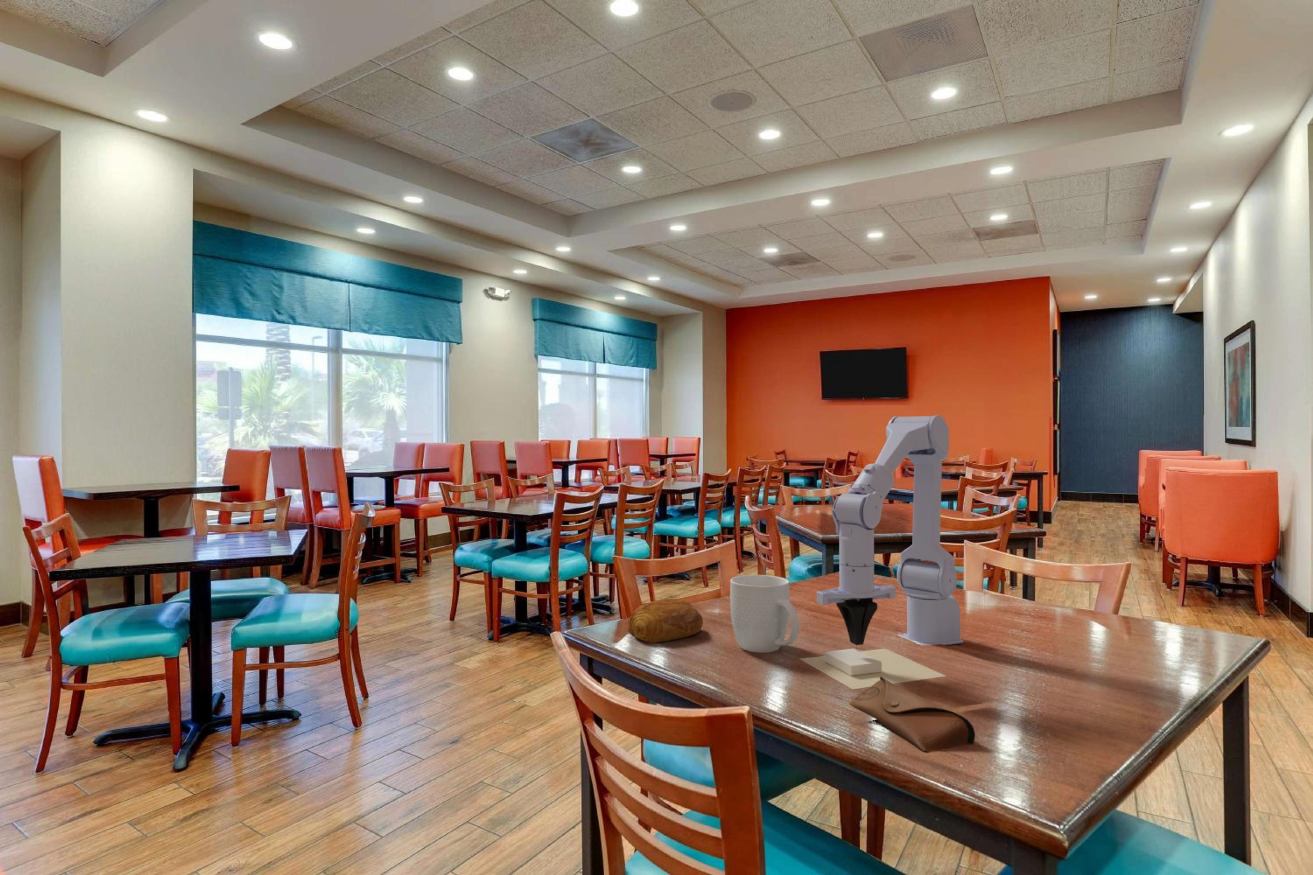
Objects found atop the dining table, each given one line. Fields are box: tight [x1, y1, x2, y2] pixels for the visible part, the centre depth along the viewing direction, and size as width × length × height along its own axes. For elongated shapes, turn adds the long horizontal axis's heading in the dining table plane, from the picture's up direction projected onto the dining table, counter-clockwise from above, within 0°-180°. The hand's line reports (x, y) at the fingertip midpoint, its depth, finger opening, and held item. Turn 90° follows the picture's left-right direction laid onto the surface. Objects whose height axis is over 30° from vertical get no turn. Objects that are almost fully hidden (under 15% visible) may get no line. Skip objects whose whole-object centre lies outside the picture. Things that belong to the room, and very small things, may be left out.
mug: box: [729, 574, 800, 654], centre depth 132 cm, size 15×11×13 cm
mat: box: [799, 648, 947, 690], centre depth 121 cm, size 18×16×1 cm
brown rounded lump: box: [627, 598, 704, 644], centre depth 145 cm, size 14×16×8 cm
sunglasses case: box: [848, 677, 976, 753], centre depth 99 cm, size 18×7×7 cm
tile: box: [823, 648, 882, 676], centre depth 121 cm, size 2×8×6 cm
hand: (856, 643), depth 121 cm, fingers closed
